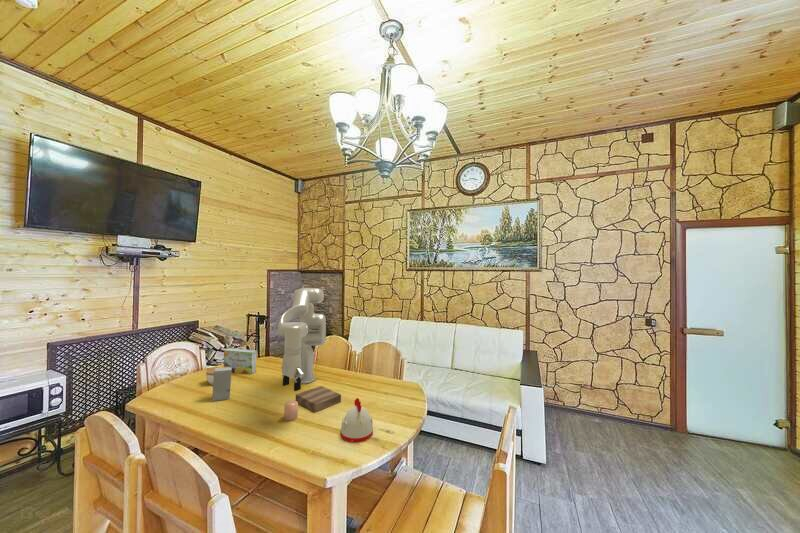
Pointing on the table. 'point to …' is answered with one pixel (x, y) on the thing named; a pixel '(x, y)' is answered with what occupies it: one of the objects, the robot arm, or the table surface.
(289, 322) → the robot arm
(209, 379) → the lidded jar
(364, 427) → the kitchen timer
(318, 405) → the walnut platform
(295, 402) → the terracotta cylinder
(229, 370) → the skincare box
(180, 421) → the table surface
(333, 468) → the table surface
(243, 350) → the snack box
